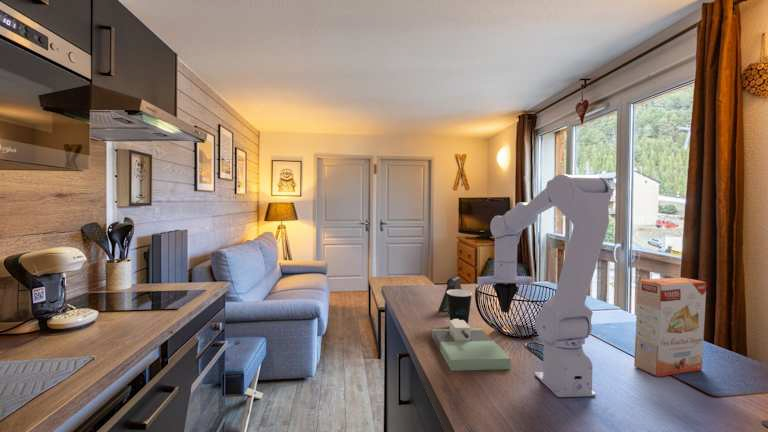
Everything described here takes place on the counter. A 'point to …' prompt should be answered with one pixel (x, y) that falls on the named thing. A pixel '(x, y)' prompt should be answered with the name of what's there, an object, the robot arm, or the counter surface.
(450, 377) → the counter surface
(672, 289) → the cracker box
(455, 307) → the dixie cup
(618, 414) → the counter surface
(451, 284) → the door stopper
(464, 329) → the plug
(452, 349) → the board
